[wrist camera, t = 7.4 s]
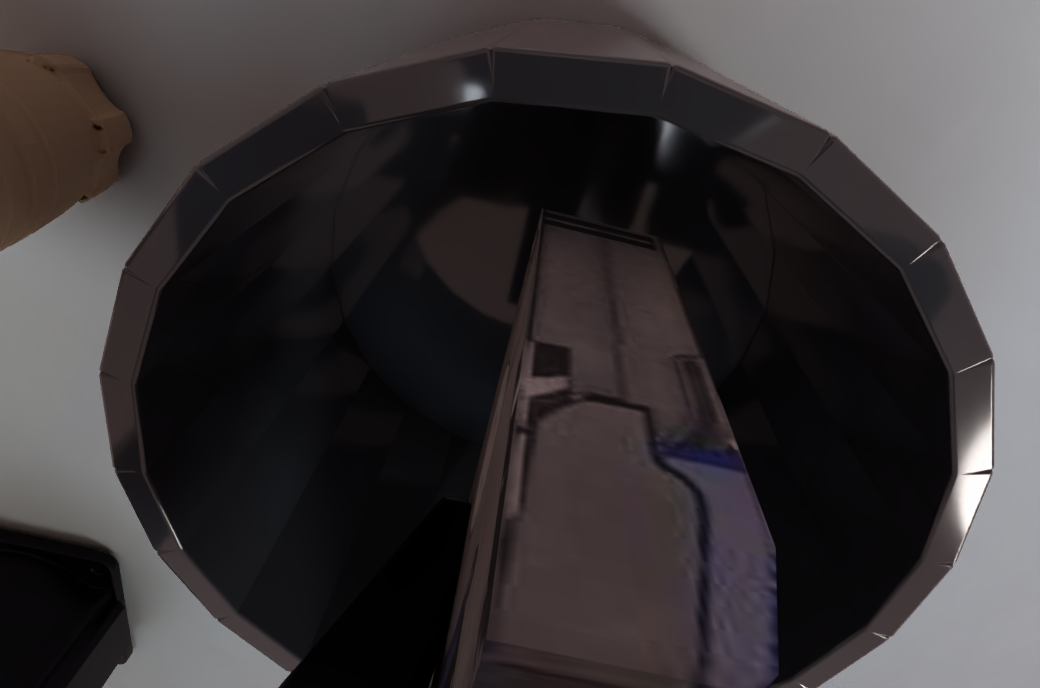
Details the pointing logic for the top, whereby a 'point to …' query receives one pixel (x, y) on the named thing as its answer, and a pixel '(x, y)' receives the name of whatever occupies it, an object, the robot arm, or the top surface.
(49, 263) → the top surface
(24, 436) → the top surface
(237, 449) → the pen holder
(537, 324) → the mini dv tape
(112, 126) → the handle
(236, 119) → the top surface
